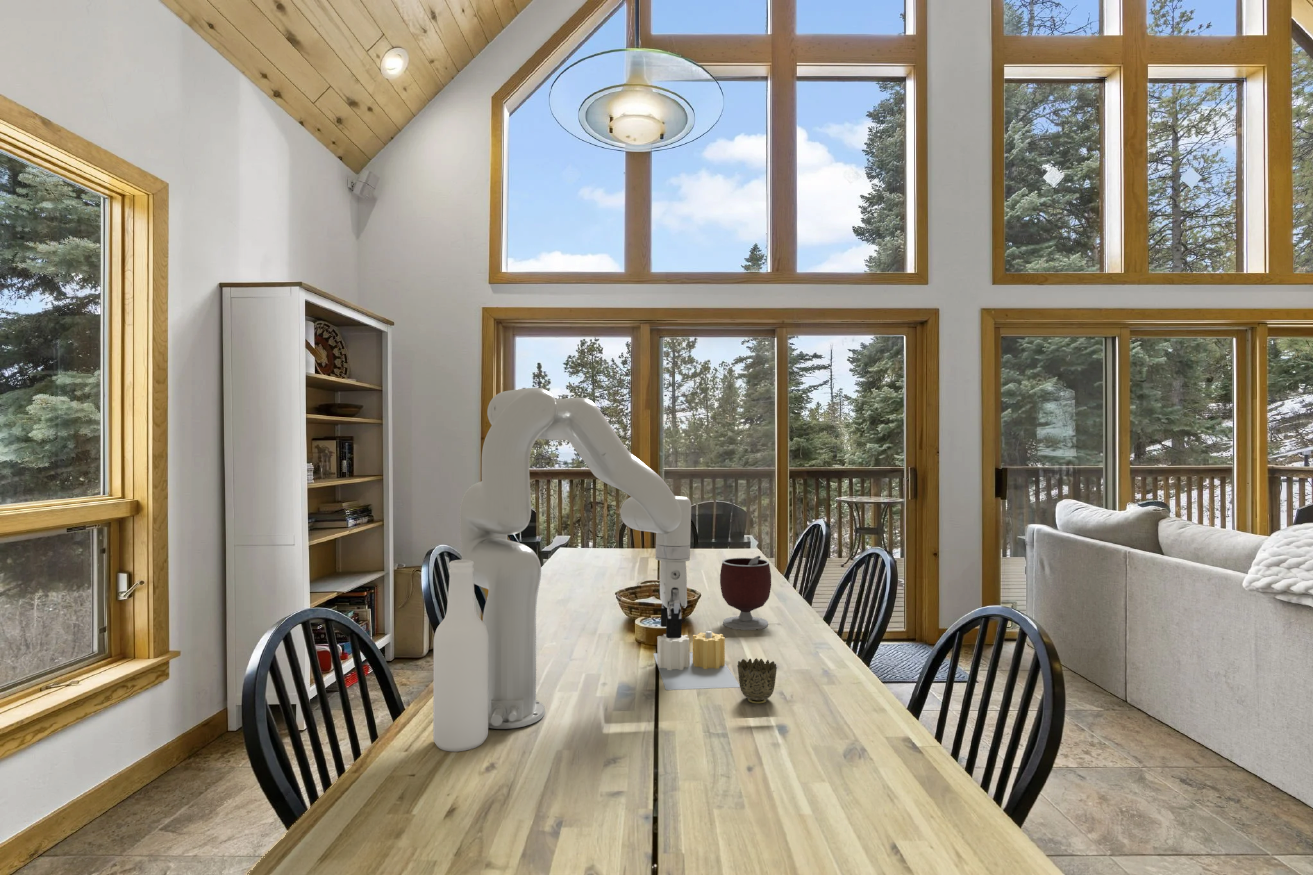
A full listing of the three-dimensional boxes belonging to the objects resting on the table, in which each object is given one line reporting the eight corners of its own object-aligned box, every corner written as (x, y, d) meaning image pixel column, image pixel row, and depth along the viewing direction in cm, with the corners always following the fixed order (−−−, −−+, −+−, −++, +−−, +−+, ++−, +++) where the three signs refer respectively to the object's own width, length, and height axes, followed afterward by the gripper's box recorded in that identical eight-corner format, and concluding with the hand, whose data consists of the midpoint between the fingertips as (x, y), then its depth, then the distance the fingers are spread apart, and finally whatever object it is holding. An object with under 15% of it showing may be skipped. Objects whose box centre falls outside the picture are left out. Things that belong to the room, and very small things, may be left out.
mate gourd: (712, 619, 197) (712, 548, 197) (757, 616, 201) (757, 546, 202) (734, 634, 182) (734, 557, 183) (783, 630, 187) (783, 554, 187)
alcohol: (431, 734, 120) (432, 558, 120) (484, 727, 123) (485, 555, 123) (434, 756, 112) (435, 567, 112) (491, 747, 115) (491, 563, 115)
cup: (776, 715, 129) (776, 671, 129) (735, 711, 130) (735, 668, 130) (777, 700, 136) (777, 658, 136) (739, 697, 137) (739, 656, 137)
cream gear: (691, 669, 150) (691, 641, 150) (659, 670, 150) (659, 642, 150) (686, 659, 157) (686, 632, 157) (656, 660, 156) (656, 633, 157)
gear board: (740, 693, 140) (740, 651, 140) (665, 696, 138) (665, 654, 138) (717, 656, 164) (717, 621, 164) (653, 658, 162) (653, 622, 162)
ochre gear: (727, 668, 151) (727, 640, 151) (695, 669, 151) (695, 641, 151) (720, 658, 158) (720, 631, 158) (690, 659, 157) (690, 632, 157)
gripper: (696, 558, 145) (694, 642, 145) (683, 547, 162) (682, 622, 162) (660, 558, 144) (657, 642, 144) (651, 547, 162) (649, 622, 161)
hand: (670, 631), depth 153 cm, fingers open, 9 cm apart
